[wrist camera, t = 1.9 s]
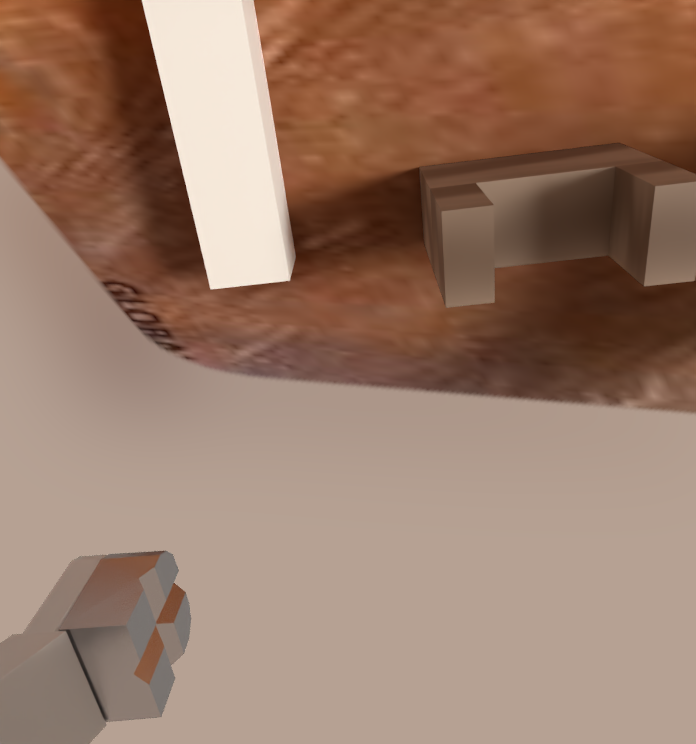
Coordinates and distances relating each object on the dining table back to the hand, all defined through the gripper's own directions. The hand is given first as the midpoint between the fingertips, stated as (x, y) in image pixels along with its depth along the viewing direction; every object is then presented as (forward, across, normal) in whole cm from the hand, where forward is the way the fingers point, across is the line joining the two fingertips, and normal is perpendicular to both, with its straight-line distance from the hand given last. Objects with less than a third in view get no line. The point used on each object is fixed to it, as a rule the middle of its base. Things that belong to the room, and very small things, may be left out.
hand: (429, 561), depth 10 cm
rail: (+25, +7, -8) cm, 28 cm away
